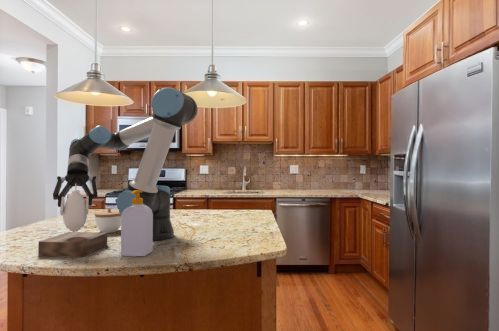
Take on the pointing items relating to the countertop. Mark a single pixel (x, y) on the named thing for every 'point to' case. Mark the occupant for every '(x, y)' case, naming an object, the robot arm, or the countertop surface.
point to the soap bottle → (137, 228)
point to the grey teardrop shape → (75, 211)
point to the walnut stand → (72, 244)
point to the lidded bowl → (108, 221)
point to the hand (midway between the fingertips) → (74, 212)
